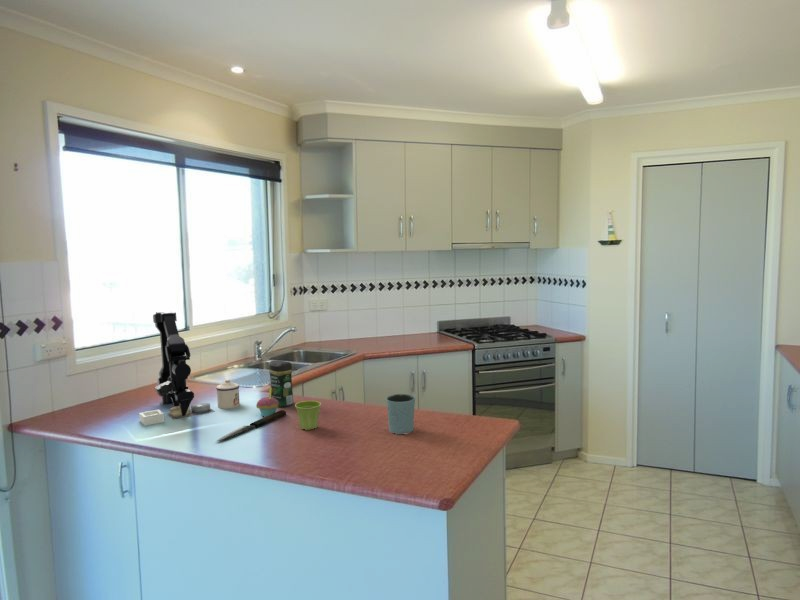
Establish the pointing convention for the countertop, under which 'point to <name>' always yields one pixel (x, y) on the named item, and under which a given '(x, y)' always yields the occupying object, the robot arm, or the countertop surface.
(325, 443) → the countertop surface
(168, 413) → the mat
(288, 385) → the coffee jar
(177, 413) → the cork lid
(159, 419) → the open white box
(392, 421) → the blue cup
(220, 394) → the teacup with lid
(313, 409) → the plant pot
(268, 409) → the cupcake
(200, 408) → the grey puck
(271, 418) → the kitchen knife
